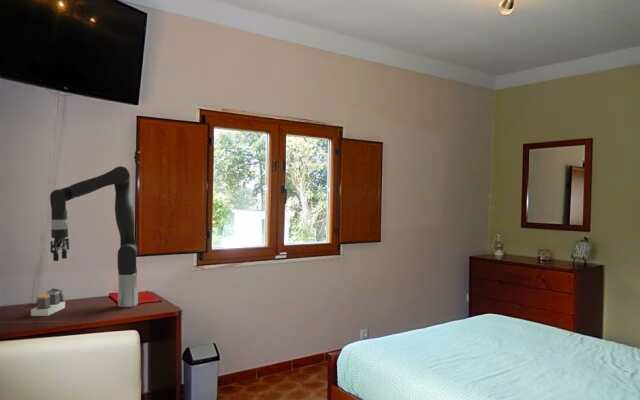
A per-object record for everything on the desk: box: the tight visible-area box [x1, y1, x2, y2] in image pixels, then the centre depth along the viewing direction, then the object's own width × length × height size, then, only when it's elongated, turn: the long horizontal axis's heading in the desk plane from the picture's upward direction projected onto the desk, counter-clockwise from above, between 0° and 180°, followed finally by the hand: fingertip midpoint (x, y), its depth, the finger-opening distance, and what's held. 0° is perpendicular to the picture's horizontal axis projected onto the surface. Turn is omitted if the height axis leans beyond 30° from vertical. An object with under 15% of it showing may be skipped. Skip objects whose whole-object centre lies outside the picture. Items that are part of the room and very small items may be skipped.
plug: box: [36, 294, 50, 309], centre depth 221 cm, size 4×4×9 cm
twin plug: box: [46, 290, 60, 305], centre depth 230 cm, size 4×4×9 cm
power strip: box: [30, 302, 66, 317], centre depth 225 cm, size 8×16×4 cm, turn 3°
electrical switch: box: [46, 287, 67, 305], centre depth 243 cm, size 9×5×9 cm, turn 57°
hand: (60, 259), depth 231 cm, fingers open, 8 cm apart
